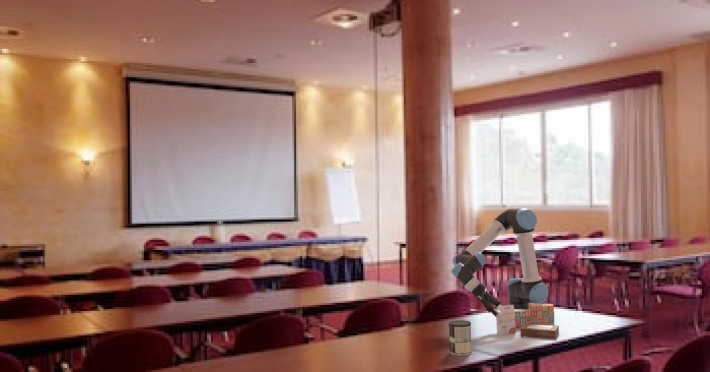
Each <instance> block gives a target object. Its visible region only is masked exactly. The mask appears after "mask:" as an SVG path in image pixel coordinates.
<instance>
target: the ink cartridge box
mask: <svg viewBox="0 0 710 372" xmlns="http://www.w3.org/2000/svg"><path fill="white" fill-rule="evenodd" d="M508 307H509V309H508ZM497 311H498V312H499V313H500V314H501V315H502V316H503V317H504V318H503V319H502V320H501V321H499V320H498V319H497V318H496V317H495V319H496V333H498V334H500V335H507V334H508V335H509V334H515V333H516V328H515V312H514V305H509V304H507V305H506V304H505V305H502V306H500V310H498V309H497Z"/></svg>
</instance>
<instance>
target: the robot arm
mask: <svg viewBox="0 0 710 372" xmlns="http://www.w3.org/2000/svg"><path fill="white" fill-rule="evenodd" d="M537 222H538V219H537V215H536V213H535V212H534V211H533V210H532V209H529V208H523V207H522V208H508V209H506V210H504V211H502V212H501V213H500V214H498V215H497V216H496V217H495V218H494V219H493V220H492V222H491V225H489V227H487V229H485V230H484V231H483V232H481V234H480V235H479V236H478V237H477V238H476V239H475V240H474V241H473V242H471V244H469V245H468V246H467V248H465V249H464V250H463V251H462V252H461V253H457V254H455V255H454V256H453V257H452V264H453V265H454V266H453V268H451V274H452V275H453V276H454V277H455V278H456V279H457V281H458V282H460V283H461V284H462V285H463V286H464V287H465V290H468V292H470V293H471V295H472V296H474V298H476V299H478V300H479V301H480V302H481V304H482V305H483V306H484V308H485V309H486V311H487V312H488V313H489V314H490V313H491V314H492V316H494V317H495V319H496V318H497V319H498V320H499V321H501V320H502V319H503V318H504V317H503V316H502V315H501V314H500V313H499V312H498V310H500V306H503V305H502V302H501V301H499V300H498V299H497V297H495V296H494V295H492V294H491V293H489V292H488V290H486V286H485V285H483V283H481V282H480V280H478V278H477V277H476V276H475V275H474V274H475V273H476V272H478V271H479V270H480V269H481V268H482V267H483V266H484V265H485V264H486V262H487V258H486V257H485V255H484V254H482V253H483V252H484V251H485V250H486V249H487V248H488V247H490V245H491V244H492V243H493V242H494V241H495V240H496V239H498V237H499V236H500V235H501V234H505V233H507V231H509V230H512V232H513V235H515V236H516V240H517V247H518V252H519V257H520V258H519V259H520V264H521V271H522V272H521V273H522V277H518V278H510V279H508V280H507V291H508V294H507V295H508V296H507V297H508V305H514V309H529V304H540V303H544V302H545V301H546V299H547V298H548V296H549V288H548V286H547V285H546V284H545V283H544V282H543V278H542V277H541V276H540V274H539V269H538V263H537V256H536V249H535V244H534V238H533V233H534V232H535V227H536V226H537ZM485 290H486V291H485ZM493 306H495V308H494V307H493ZM507 309H509V307H507Z"/></svg>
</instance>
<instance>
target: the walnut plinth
mask: <svg viewBox="0 0 710 372" xmlns="http://www.w3.org/2000/svg"><path fill="white" fill-rule="evenodd" d="M559 327H560V325H557V324H556V325H555V324H554V325H536V324H525V325H524V326H523V327H522V328H520V338H532V339H533V338H538V339H553V340H556V339H557V338H558V336H559V334H560V328H559Z"/></svg>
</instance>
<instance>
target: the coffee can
mask: <svg viewBox="0 0 710 372" xmlns="http://www.w3.org/2000/svg"><path fill="white" fill-rule="evenodd" d="M448 334H449V337H448V338H449V354H450V355H453V356H469V355H472V353H473V350H472V349H473V348H472V347H473V345H472V323H471V321H469V320H464V319H463V320H461V319H459V320H456V319H455V320H450V321H448Z"/></svg>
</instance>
